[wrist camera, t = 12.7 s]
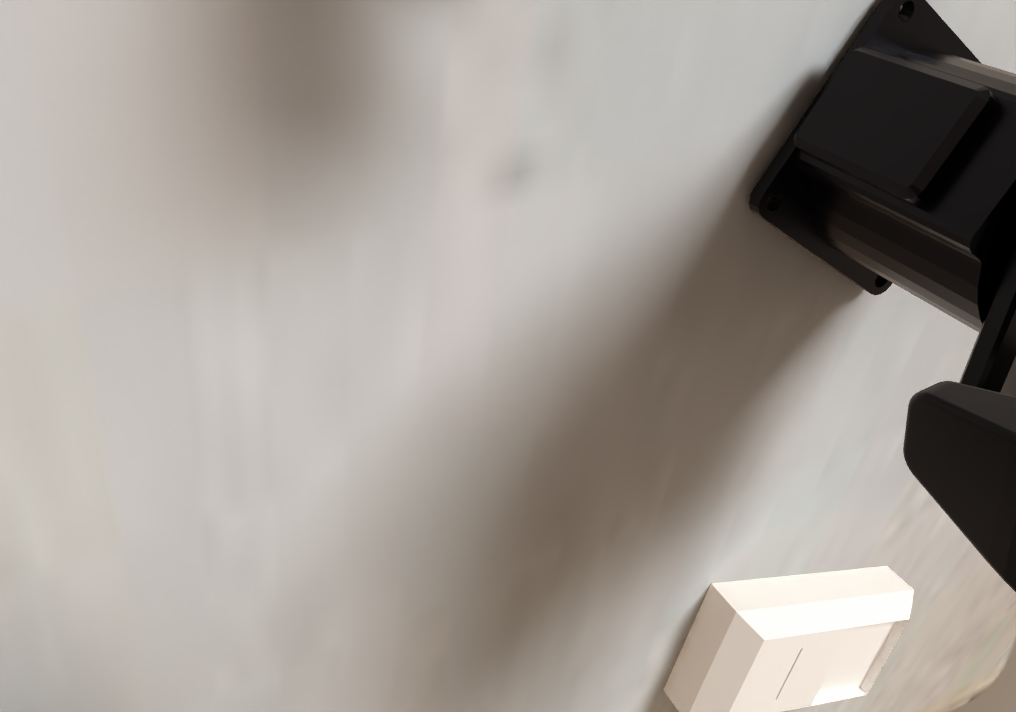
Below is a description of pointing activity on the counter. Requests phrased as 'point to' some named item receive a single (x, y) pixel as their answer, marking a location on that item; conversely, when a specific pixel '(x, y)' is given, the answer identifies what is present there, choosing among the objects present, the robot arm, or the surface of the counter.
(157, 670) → the counter surface
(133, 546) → the counter surface
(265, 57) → the counter surface
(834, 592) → the soap bar
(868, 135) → the robot arm
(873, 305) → the counter surface
